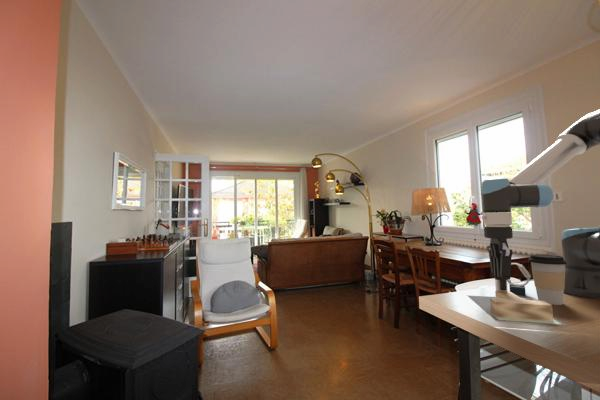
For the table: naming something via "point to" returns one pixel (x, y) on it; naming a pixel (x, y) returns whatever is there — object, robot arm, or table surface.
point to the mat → (486, 306)
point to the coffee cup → (548, 277)
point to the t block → (519, 307)
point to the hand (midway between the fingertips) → (502, 299)
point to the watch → (519, 288)
